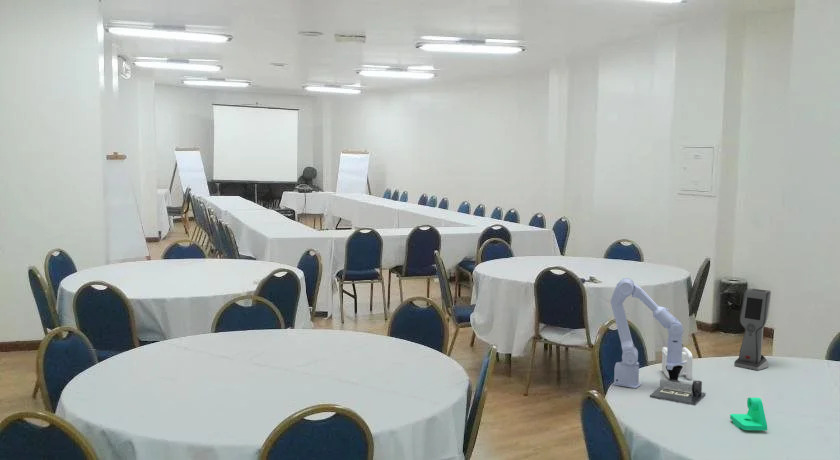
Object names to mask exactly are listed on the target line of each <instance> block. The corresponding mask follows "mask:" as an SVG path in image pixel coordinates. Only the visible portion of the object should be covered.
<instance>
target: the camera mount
mask: <svg viewBox="0 0 840 460" xmlns="http://www.w3.org/2000/svg"><path fill="white" fill-rule="evenodd" d="M746 404H747V405H746V406H747V409H748V411H747V413H730V414H729V419H730V420H731V421H732V423H733V425H734V426H735V427H736V428H737V429H739V430H744V431H768V423H767V418H766V414H765V409H764V406H763V405H764V403H763V400H762V398H760V397H748V398H747V401H746Z"/></svg>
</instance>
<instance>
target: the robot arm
mask: <svg viewBox="0 0 840 460" xmlns="http://www.w3.org/2000/svg"><path fill="white" fill-rule="evenodd" d="M629 296H631V297H632V298H635V299H639V300H640V301H641V302H642V303H643V304H644V305H646V307H647V308H648V309H649V310H651V311H652V317H653V318H654V319H655V320H656V321H657V322H658V323H659V324H660V325H661V326H662V327H663V328H664V329H665V328H666V329H667V333H668V334H667V337H668V338H667V343H666V345H667V346H666V347H667V361H666V363H667V366H666V369H667V371H668V373H669V377H670V379H672V380H678V381H679V377H680V374H681V373H680V371H681V369H682V368H683V366H680V365H684V364H685V362H682V348H683V334H684V327H683V324H682V323H681V321H680V320H678V318H677V317H675V316H674V315H673V314H672V313H671V312H669V311H670V309H669V308H668V307H664V306H659V305H658V304H657V303H656V302H655V301H654V299H652V298H651V296H650V295H649V294H648V293H647V292H645V290H644V289H643V288H642V287H640V286H639V284H637V283H634V281H633V280H632V278H629V277H625V278H621V280H620V281H619V282H618V283H617V284H616V286H615V288H614V291H613V293H612V296H611V298H610V305H611V309H612V314H613V317H614V321H615V325H616V328H617V333H618V337H619V341H620V345H621V350H622V355H621V361H619V362H618V361H617V362H615V365H614V369H613V370H614V377H613V380H614V381H613V385H614V386H619V387H620V386H621V387H625V388H632V389H637V388H639V387H640V386H641V385H643V384H642V382H640V381H639V379H640V378H639V377H640V373H639V372H640V362H639V361H638V360H639V351H638V349H637V348H636V346H635V344H634V341H633V338H632V334H631V331H630V326H629V323H628V319H627V315H626V311H625V307H624V304H623V303H624V302H625V301H626V299H627V298H628V297H629Z"/></svg>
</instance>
